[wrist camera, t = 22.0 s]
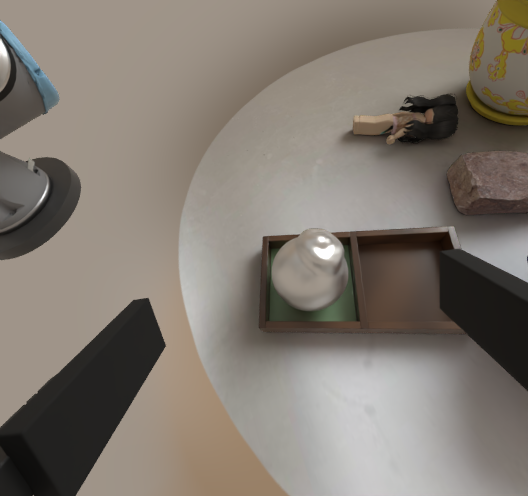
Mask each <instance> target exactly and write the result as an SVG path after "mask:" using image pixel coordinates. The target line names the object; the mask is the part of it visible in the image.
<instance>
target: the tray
mask: <svg viewBox="0 0 528 496" xmlns="http://www.w3.org/2000/svg"><path fill="white" fill-rule="evenodd" d="M331 234H333V235H334V236H335V237H336V238H337V239H338V240H339V241H340V242H341V244H342V245H343V248H344V257H345V260H346V262H347V266H348V282H347V285H346V288H345V290H344V292H343V294H342V295H341V297H340V298H339V299H338V300H337V301H336V302H335V303H334V304H332V305H331V306H329V307H327V308H325V309H322V310H319V311H302V310H299V309H296V308H294V307H292V306H290V305H288V304H287V303H286V302H285V301H284V300H283V299H282V298H281V297H280V296H279V295H278V293H277V291H276V290H275V287H274V285H273V281H272V264H273V261H274V258H275V256H276V254H277V253H278V251H279V250H280V249H281V247H282V246H283V245H285V244H286V243H287V242H289V241H290V240H292V239H294V238H297V237H298V236H299V235H300V234H299V235H281V236H269V237H268V236H264V237H263V246H262V268H261V290H260V312H259V328H260V329H261V330H262V331H263V332H296V333H399V334H466V333H465V332H464V331H463V330H462V329H461V328H460V327H459V326H458V325H457V324H456V323H455V322H454V321H453V320H452V319H450V318H449V317H448V316H447V315H446V314H445V313H444V312H443V311H442V310H441V309H440V251H446V250H452V249H458V248H459V249H461V247H460V244H459V240H458V237H457V234H456V231H455V228H454V226H447V227H428V228H410V229H391V230H373V231H354V232H336V233H331Z"/></svg>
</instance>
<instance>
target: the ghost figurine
mask: <svg viewBox="0 0 528 496" xmlns="http://www.w3.org/2000/svg"><path fill="white" fill-rule="evenodd" d="M272 281H273V285H274V287H275V290H276V291H277V293H278V295H279V296H280V297H281V298H282V299H283V300H284V301H285V302H286V303H287V304H288V305H290V306H292V307H294V308H296V309H299V310H302V311H319V310H322V309H325V308H327V307H329V306H331V305H332V304H334V303H335V302H336V301H337V300H338V299H339V298H340V297H341V295H342V294H343V292H344V290H345V288H346V285H347V282H348V266H347V262H346V260H345V257H344V248H343V245H342V244H341V242H340V241H339V240H338V239H337V238H336V237H335V236H334V235H333V234H331V233H330V232H328V231H326V230H323V229H318V228H311V229H307V230H305V231H303V232H302V233H301V234H300V235H299V236H298V237H297V238H294V239H292V240H290V241H289V242H287V243H286V244H285V245H283V246H282V247H281V249H280V250H279V251H278V253H277V254H276V256H275V258H274V261H273V264H272Z"/></svg>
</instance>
